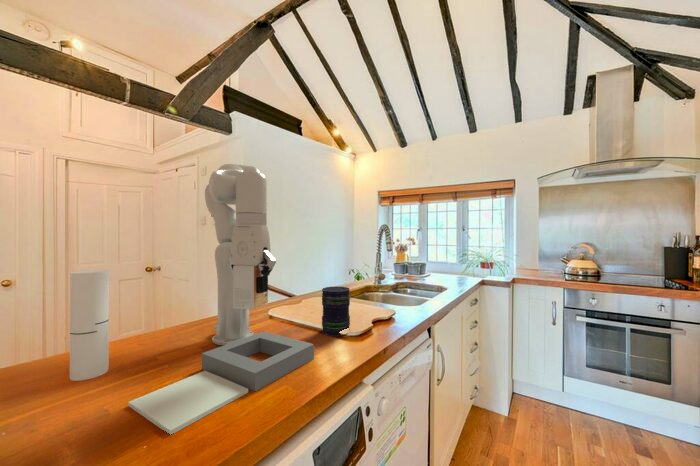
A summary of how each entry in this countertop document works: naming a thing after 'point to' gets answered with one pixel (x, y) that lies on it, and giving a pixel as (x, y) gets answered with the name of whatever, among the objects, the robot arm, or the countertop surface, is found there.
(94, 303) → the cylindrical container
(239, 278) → the small box
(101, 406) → the countertop surface
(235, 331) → the robot arm
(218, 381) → the sage tile
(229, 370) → the pocket block
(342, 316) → the storage jar
